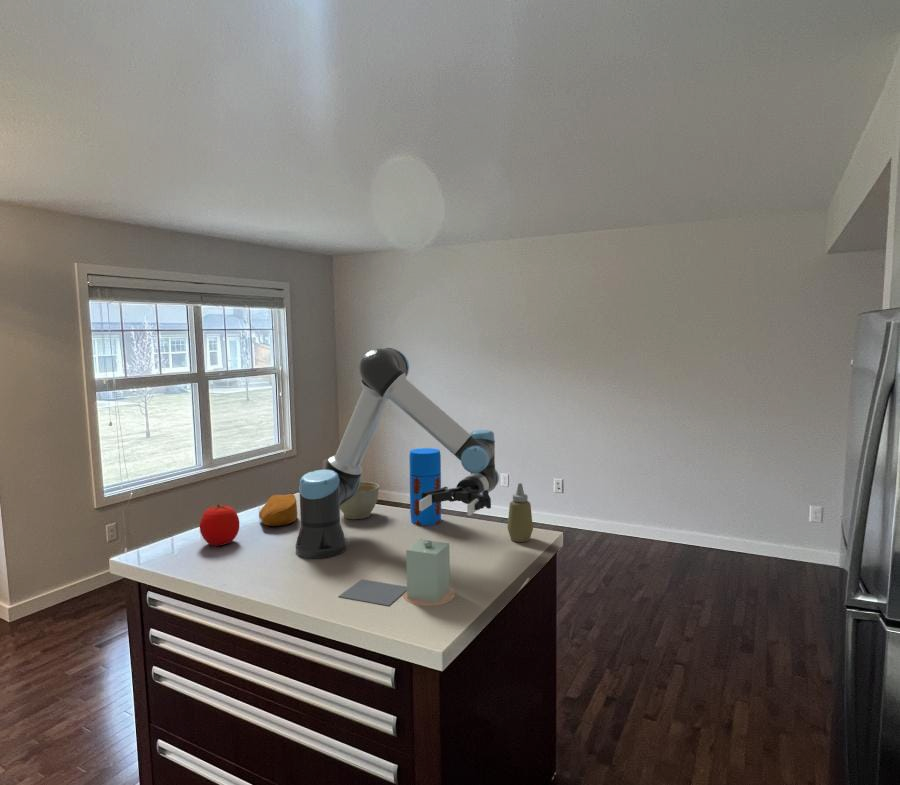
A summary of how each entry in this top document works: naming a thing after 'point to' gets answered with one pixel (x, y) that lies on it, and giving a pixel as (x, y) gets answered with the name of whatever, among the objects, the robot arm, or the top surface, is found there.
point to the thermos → (424, 484)
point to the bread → (279, 510)
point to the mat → (374, 592)
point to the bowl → (445, 599)
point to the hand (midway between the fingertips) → (444, 508)
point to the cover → (428, 570)
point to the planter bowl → (361, 501)
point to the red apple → (219, 525)
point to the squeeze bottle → (520, 517)
